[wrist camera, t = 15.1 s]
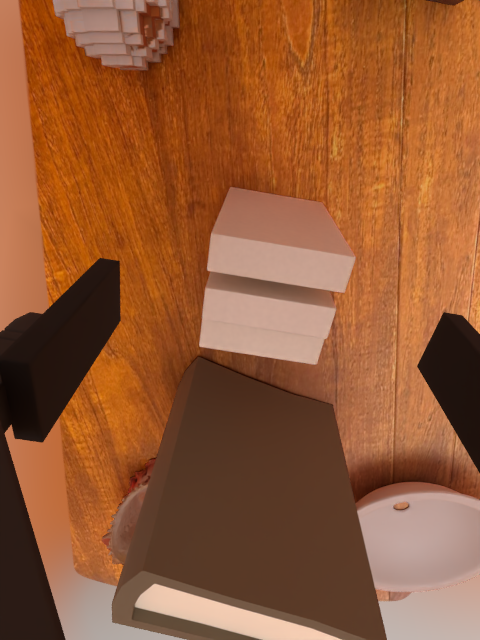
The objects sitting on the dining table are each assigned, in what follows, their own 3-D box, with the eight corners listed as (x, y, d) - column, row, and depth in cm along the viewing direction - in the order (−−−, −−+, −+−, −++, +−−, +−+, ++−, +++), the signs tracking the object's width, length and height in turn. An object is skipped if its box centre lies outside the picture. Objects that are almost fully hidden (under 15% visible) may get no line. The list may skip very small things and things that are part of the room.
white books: (224, 227, 38) (205, 287, 25) (312, 241, 38) (336, 308, 25) (216, 283, 41) (196, 362, 28) (298, 296, 41) (314, 380, 28)
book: (172, 399, 49) (100, 628, 28) (193, 351, 45) (129, 576, 24) (301, 445, 52) (329, 685, 31) (332, 404, 48) (388, 647, 27)
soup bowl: (513, 512, 57) (541, 557, 51) (377, 564, 66) (388, 608, 60) (432, 424, 49) (454, 466, 43) (290, 497, 58) (293, 540, 52)
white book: (229, 186, 36) (211, 233, 23) (322, 202, 36) (356, 257, 23) (226, 212, 37) (206, 271, 24) (316, 227, 37) (344, 293, 24)
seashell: (186, 523, 66) (244, 489, 59) (176, 596, 57) (243, 565, 50) (102, 484, 60) (156, 441, 53) (75, 558, 51) (137, 518, 44)
